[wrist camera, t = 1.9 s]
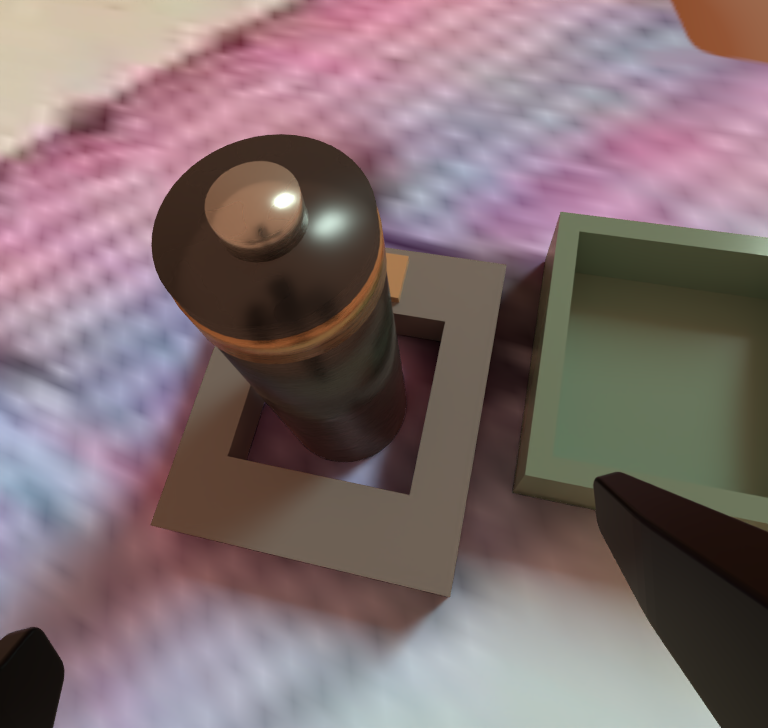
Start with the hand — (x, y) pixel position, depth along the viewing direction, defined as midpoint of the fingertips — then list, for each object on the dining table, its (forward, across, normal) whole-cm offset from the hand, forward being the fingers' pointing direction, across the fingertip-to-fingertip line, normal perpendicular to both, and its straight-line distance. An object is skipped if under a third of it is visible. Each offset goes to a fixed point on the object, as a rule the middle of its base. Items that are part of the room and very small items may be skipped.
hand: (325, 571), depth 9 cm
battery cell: (+14, 0, +4) cm, 15 cm away
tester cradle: (+14, 0, +4) cm, 15 cm away
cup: (+12, -12, +6) cm, 19 cm away
